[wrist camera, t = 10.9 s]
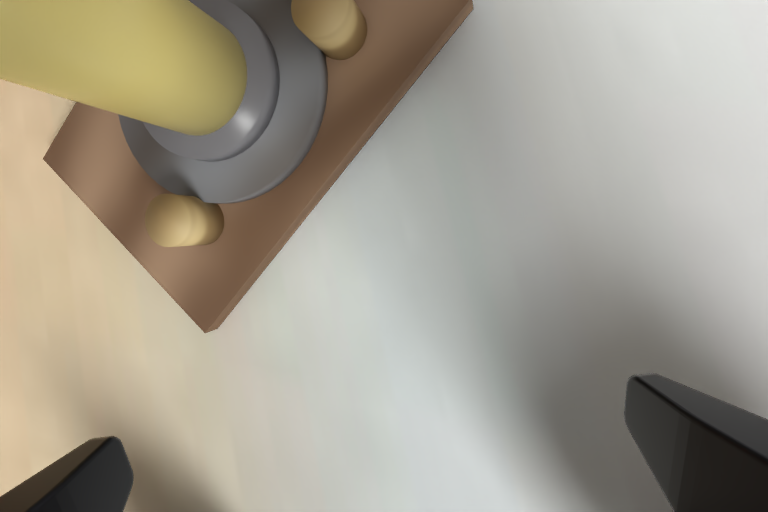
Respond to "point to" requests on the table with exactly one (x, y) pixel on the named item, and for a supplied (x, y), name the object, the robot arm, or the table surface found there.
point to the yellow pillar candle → (150, 66)
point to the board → (254, 147)
